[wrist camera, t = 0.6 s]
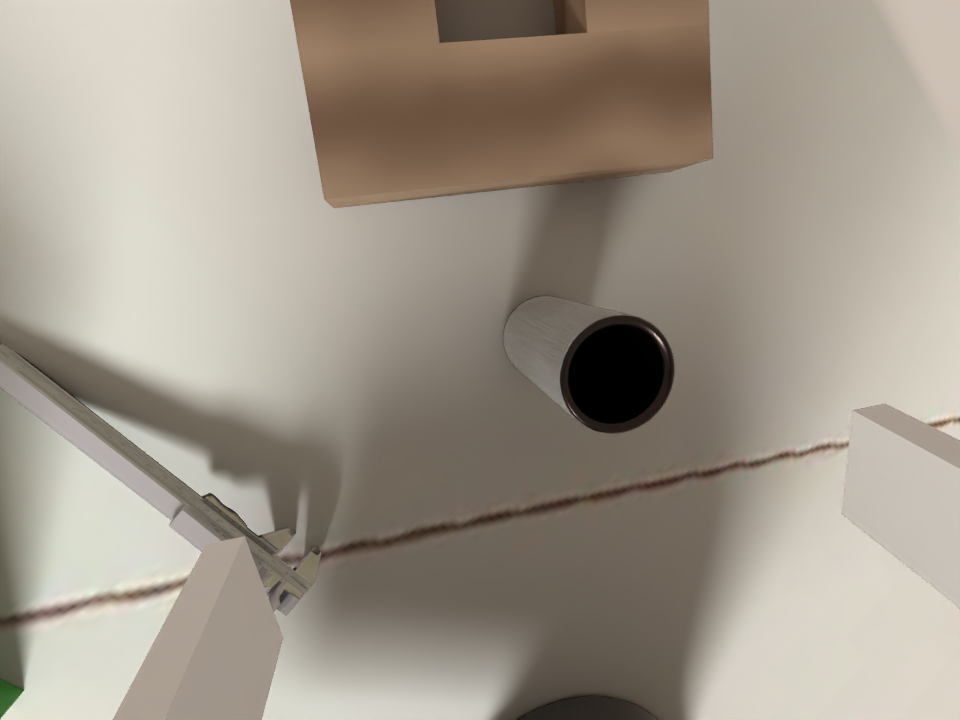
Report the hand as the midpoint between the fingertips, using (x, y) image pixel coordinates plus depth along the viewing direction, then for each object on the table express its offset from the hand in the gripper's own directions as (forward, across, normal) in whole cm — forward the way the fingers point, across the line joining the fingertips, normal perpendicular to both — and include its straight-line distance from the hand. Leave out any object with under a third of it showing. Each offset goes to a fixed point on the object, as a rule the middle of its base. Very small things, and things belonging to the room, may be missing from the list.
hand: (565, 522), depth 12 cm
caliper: (+17, +17, +4) cm, 25 cm away
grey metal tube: (+19, -4, +2) cm, 19 cm away
